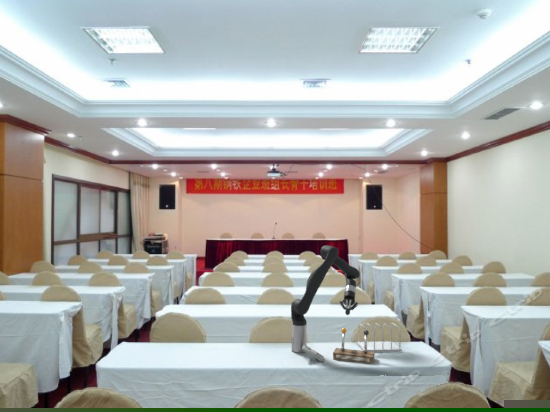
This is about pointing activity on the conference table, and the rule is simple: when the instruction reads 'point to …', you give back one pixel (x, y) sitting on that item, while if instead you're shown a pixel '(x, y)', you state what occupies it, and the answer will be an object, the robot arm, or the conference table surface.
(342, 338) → the lever orange
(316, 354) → the light switch
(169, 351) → the conference table surface
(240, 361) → the conference table surface
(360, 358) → the switch panel
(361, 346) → the file sorter
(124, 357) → the conference table surface
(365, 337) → the lever black
